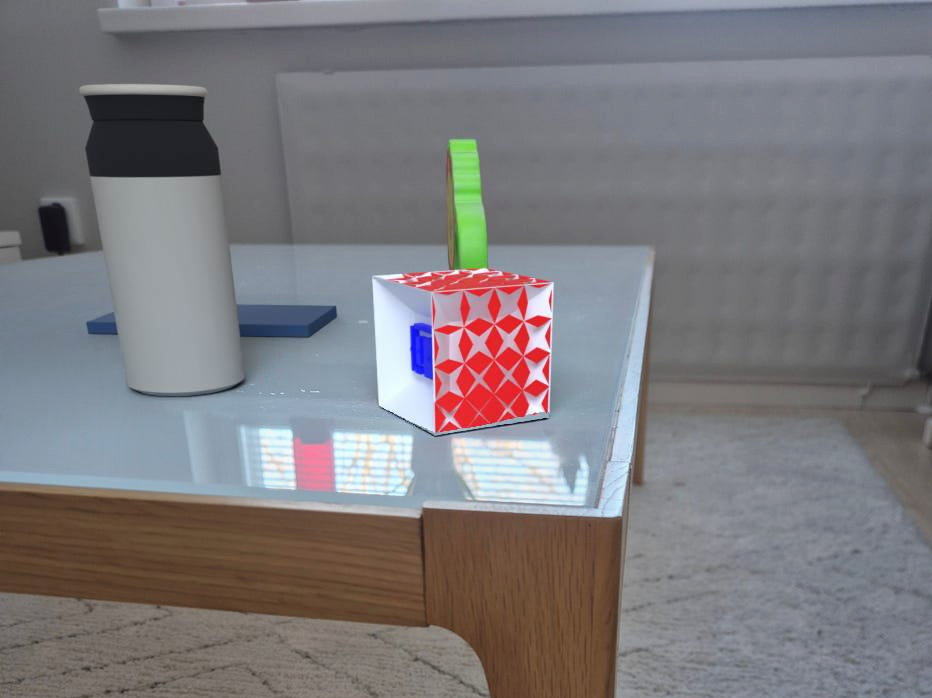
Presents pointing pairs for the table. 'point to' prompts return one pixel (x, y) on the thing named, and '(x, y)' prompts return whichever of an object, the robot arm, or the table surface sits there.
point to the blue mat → (256, 320)
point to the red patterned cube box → (463, 346)
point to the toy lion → (464, 207)
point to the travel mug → (164, 237)
